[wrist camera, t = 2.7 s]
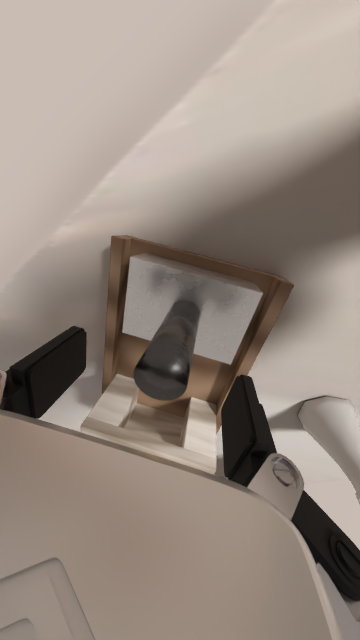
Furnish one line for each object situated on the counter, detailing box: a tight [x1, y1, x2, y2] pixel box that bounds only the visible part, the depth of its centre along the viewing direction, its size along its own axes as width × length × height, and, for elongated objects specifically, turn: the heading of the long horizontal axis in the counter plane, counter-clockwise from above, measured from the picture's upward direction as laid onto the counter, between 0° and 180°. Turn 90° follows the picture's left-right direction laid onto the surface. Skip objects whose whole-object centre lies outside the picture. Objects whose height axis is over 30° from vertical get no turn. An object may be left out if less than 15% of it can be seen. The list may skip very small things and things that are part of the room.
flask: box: [298, 396, 360, 504], centre depth 23 cm, size 7×7×10 cm
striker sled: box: [122, 253, 263, 401], centre depth 16 cm, size 8×12×13 cm, turn 77°
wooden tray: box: [81, 236, 294, 474], centre depth 22 cm, size 25×18×10 cm
